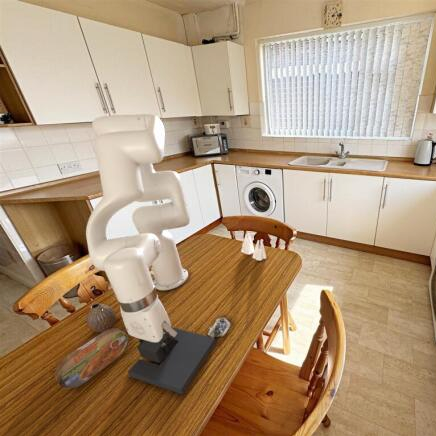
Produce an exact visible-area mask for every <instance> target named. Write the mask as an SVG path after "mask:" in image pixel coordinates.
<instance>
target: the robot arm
mask: <svg viewBox="0 0 436 436" xmlns="http://www.w3.org/2000/svg"><path fill="white" fill-rule="evenodd" d="M91 128H92V131H93V133H94V135H95V137H96V139H95V141H94V148H95V155H96V162H97V166H98V172H99V177H100V185H101V189H102V197H101V199H100V201H99V202H98V203H97V204H96V206H94V208H93V210H92V211H91V213H90V216H89V218H88V220H87V224H86V229H85V238H86V243H87V249H88V255H89V258H90V262H91V264H92V265H93V267H94V268H95V269H96V270H98V271H101V272H105V274H106V277H107V279H108V281H109V285H110V286H111V288H112V291H113V293H114V295H115V297H116V299H117V302H118V304H119V308H120V315H121V318H122V321H123V324H124V327H125V329H126V331H127V332H126V333H128V334H127V335H128V336H131V337H133V338H136V339H137V340H139V344H140V343H141V342H143V341H144V340H146V341H150V342H159V343H160V344H161V346H160V348H161V351H162V353H163V356H164V358H166V357H167V355H168V354H169V353H170V352H171V351H172V349H173V348H174V347H175V345H173V342H172V340H173V339H174V338H175V337H176V336H177V332H175V331H174V330H173V329H172V328H171V327H172V324H171V321H170V318H169V315H168V313H167V311H166V309H165V307H164V304H163V303H162V301H161V300H160V298H159V295H158V293H157V290H158V291H170V290H173V289H176V288H178V287H180V286H182V285H184V283H185V282H186V281H187V280H188V278H189V272H188V270H187V269H185V268H183V267H182V262H181V259H180V255H179V251H178V248H177V245H176V240H175V238H174V236H173V235H172V234H171V233H170V232H169V231H168V230H173V229H179V228H184V227H187V226H188V225H189V224H190V222H191V215H190V210H189V206H188V202H187V198H186V193H185V189H184V185H183V182H182V179H181V176H180V175H179V173H177V172H176V171H173V170H159V171H155V168H154V165H153V164H159V163H161V162H162V161H163V159H164V157H165V143H166V141H165V140H166V131H165V126H164V123H163V122H162V120H161V119H160V118H159V117H158V116H157V115H155V114H152V113H151V114H150V113H149V114H148V113H147V114H146V113H145V114H143V113H142V114H141V113H140V114H113V115H104V116H99V117H96V118H94V119H93V120H92V122H91ZM164 200H169V201H168V202H161V203H160V202H159V203H153V204H145V205H142V206H139V207H137V208H136V209H135V210H134V211H133V212H132V214H131V215H132V217H131V218H132V222H133V224H134V226H135V228H136V230H137V231H138V233H139V234H138V233H137V234H133V235H127V236H120V237H114V238H108V239H107V227H108V224H109V221H110V220H111V219H112V218H113V216H114V215H115V214H117V213H118V212H119V211H121V210H122V209H123V208H125V207H127V206H129V205H131V204H132V203H134V202H137V203H149V202H157V201H164ZM150 267H151V271H150ZM152 276H153V277H152ZM153 278H154V279H153ZM164 334H165V335H166V336H167V337H166V338H165V339H164V340H163V339H162V337H163V335H164Z"/></svg>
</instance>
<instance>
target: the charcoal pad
mask: <svg viewBox="0 0 436 436" xmlns="http://www.w3.org/2000/svg"><path fill="white" fill-rule="evenodd" d="M171 328H172V329H173V330H174V331H175V332H177V336H176V337H175V341H176V344H175V345H174V348H173V349H172V351H171V352H170V353H169V354H168V355H167V357H164V359H163V360H162V361H161V362H160V363H159V364H156V363H153V362H149V361H146V360H144V359H140V358H138V359H137V360H136V361H135V363H134V364H132V366H130V368H129V369H128V370H127V374H128V375H129V377H131V378H133V379H137V380H139V381H142V382H145V383H147V384H151V385H153V386H156V387H160V388H161V389H165V390H168V391H170V392H173V393H177V394H179V395H181V396H182V395H184V393H185V392H186V391H187V389H188V388H189V386H190V384H191V383H192V381H193V379H194V378H195V376H196V375H197V373H198V372H199V370H200V369H201V367H202V366H203V364H204V363H205V361H206V359H207V358H208V357H209V355H210V353H211V352H212V350H213V349H214V348H215V345H216V344H217V342H216V341H217V340H216V337H214V338H212V336H211V337H210V336H208V335H204V334H199V333H196V332H191V331H188V330H184V329H181V328H177V327H173V326H171Z"/></svg>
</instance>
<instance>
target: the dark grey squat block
mask: <svg viewBox="0 0 436 436" xmlns="http://www.w3.org/2000/svg"><path fill="white" fill-rule="evenodd" d="M166 337H167V336H166V335H165V334H164V335H163V337H162V339H163V340H164V339H165V338H166ZM172 342H173V345H174V346H175V345H176V341H175V338H174V339H173V340H172ZM160 346H161V344H160V343H159V342H150V341H146V340H144V341H143V342H141V343H140V342H139V344H138V346H136V348H137V351H138V352H139V355H140V357H141V358H143V359H146V360H149V361H151V362H155V363H159V364H161V363H162V361H163V360H164V359H165V357H164V356H163V353H162V351H161V348H160Z"/></svg>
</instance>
